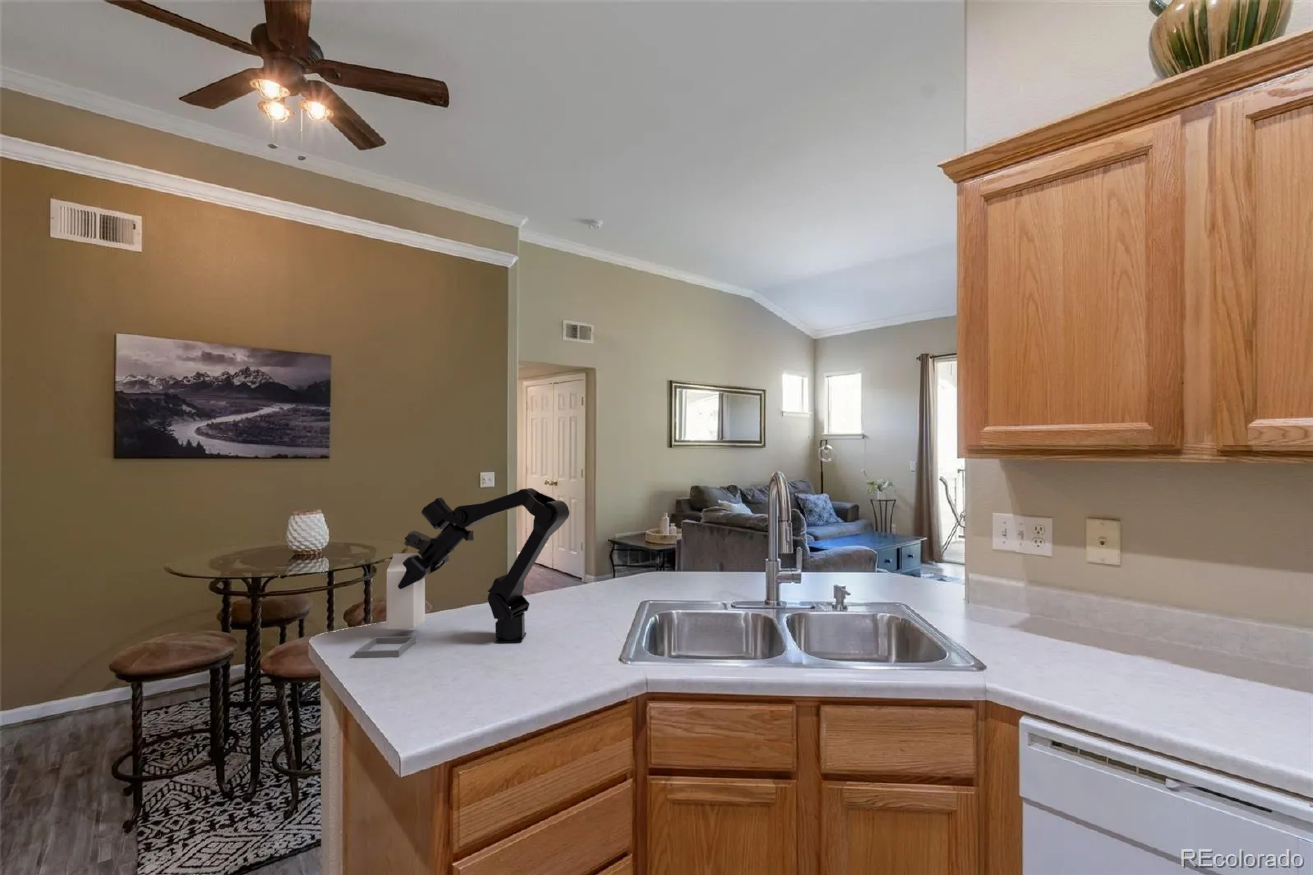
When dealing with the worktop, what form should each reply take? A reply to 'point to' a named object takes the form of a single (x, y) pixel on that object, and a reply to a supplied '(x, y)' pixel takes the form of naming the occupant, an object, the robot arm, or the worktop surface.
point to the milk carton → (404, 597)
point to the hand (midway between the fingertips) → (405, 584)
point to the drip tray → (367, 653)
